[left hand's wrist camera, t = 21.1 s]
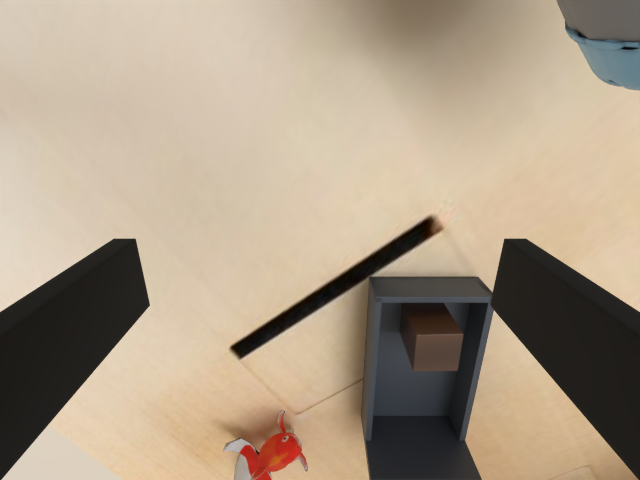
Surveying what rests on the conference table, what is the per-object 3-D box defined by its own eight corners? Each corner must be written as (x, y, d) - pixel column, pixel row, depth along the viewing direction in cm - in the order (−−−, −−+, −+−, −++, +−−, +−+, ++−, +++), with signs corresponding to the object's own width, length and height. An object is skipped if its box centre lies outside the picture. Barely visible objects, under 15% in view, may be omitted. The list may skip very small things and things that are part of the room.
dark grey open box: (369, 276, 42) (383, 324, 33) (478, 276, 42) (522, 324, 33) (361, 416, 51) (370, 485, 42) (451, 416, 51) (480, 485, 42)
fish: (339, 473, 49) (299, 540, 41) (266, 464, 58) (221, 517, 50) (310, 405, 48) (264, 458, 40) (241, 406, 57) (192, 450, 49)
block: (402, 300, 43) (416, 335, 36) (441, 299, 43) (463, 334, 36) (399, 333, 45) (413, 371, 38) (437, 332, 45) (457, 371, 38)
